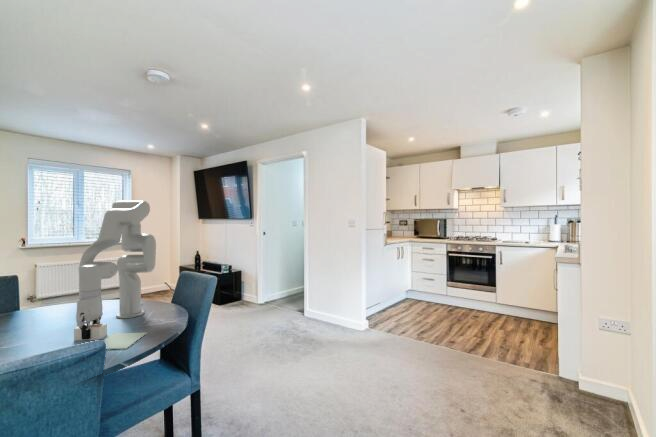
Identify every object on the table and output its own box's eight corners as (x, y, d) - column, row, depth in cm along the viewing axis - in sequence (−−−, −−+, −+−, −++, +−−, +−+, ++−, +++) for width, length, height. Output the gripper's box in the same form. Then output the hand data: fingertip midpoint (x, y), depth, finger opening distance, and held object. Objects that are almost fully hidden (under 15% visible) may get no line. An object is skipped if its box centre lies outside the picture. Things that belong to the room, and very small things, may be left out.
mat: (113, 335, 136) (113, 333, 136) (147, 333, 137) (147, 332, 137) (88, 350, 120) (88, 349, 120) (126, 349, 121) (126, 347, 121)
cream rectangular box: (82, 336, 135) (82, 324, 135) (106, 335, 136) (106, 323, 136) (74, 340, 130) (73, 328, 130) (99, 339, 131) (99, 327, 131)
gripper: (94, 289, 141) (94, 329, 141) (66, 299, 124) (66, 344, 124) (111, 289, 142) (112, 329, 142) (86, 298, 125) (86, 344, 125)
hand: (90, 335), depth 133 cm, fingers closed on cream rectangular box, 5 cm apart
